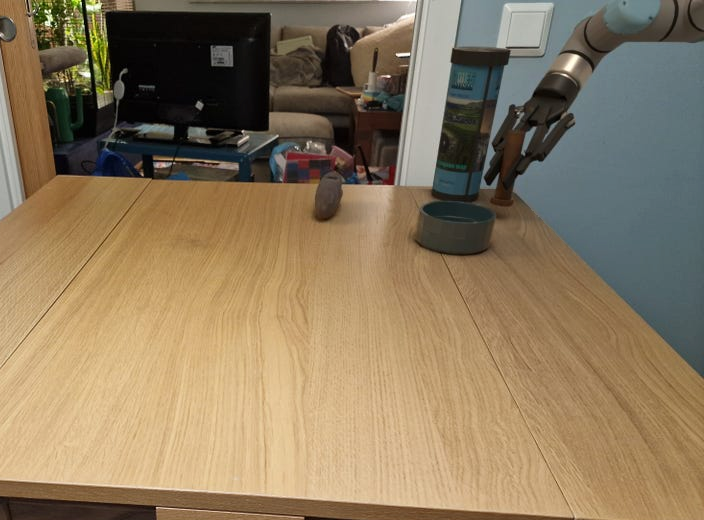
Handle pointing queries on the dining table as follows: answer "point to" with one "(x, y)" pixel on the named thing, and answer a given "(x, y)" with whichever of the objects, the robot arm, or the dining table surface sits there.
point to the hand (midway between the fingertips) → (495, 183)
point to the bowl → (455, 227)
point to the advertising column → (468, 121)
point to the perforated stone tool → (328, 194)
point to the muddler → (508, 167)
